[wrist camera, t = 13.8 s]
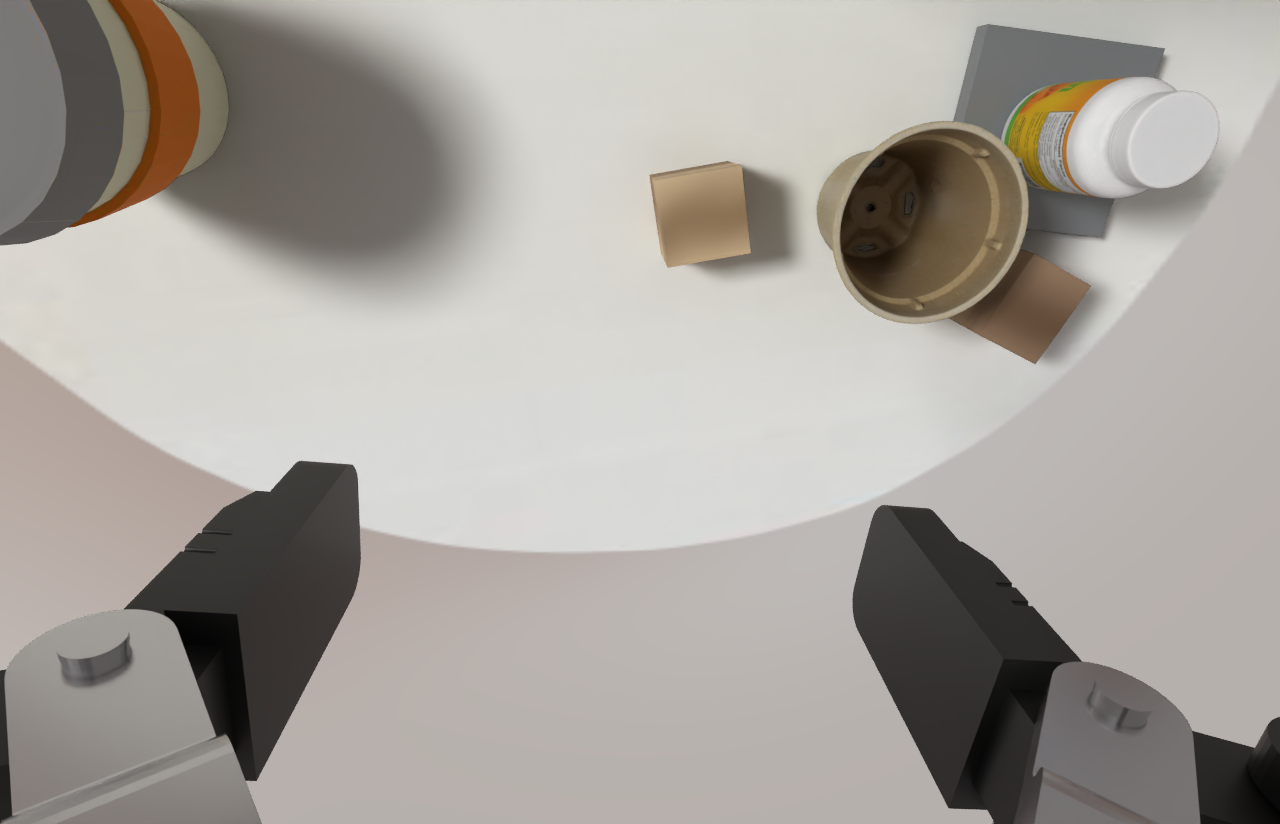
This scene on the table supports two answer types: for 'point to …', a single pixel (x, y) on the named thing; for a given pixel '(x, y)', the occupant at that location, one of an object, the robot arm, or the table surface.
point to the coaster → (1027, 63)
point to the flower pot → (926, 220)
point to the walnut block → (1025, 306)
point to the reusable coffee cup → (99, 109)
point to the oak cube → (701, 213)
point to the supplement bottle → (1111, 136)
